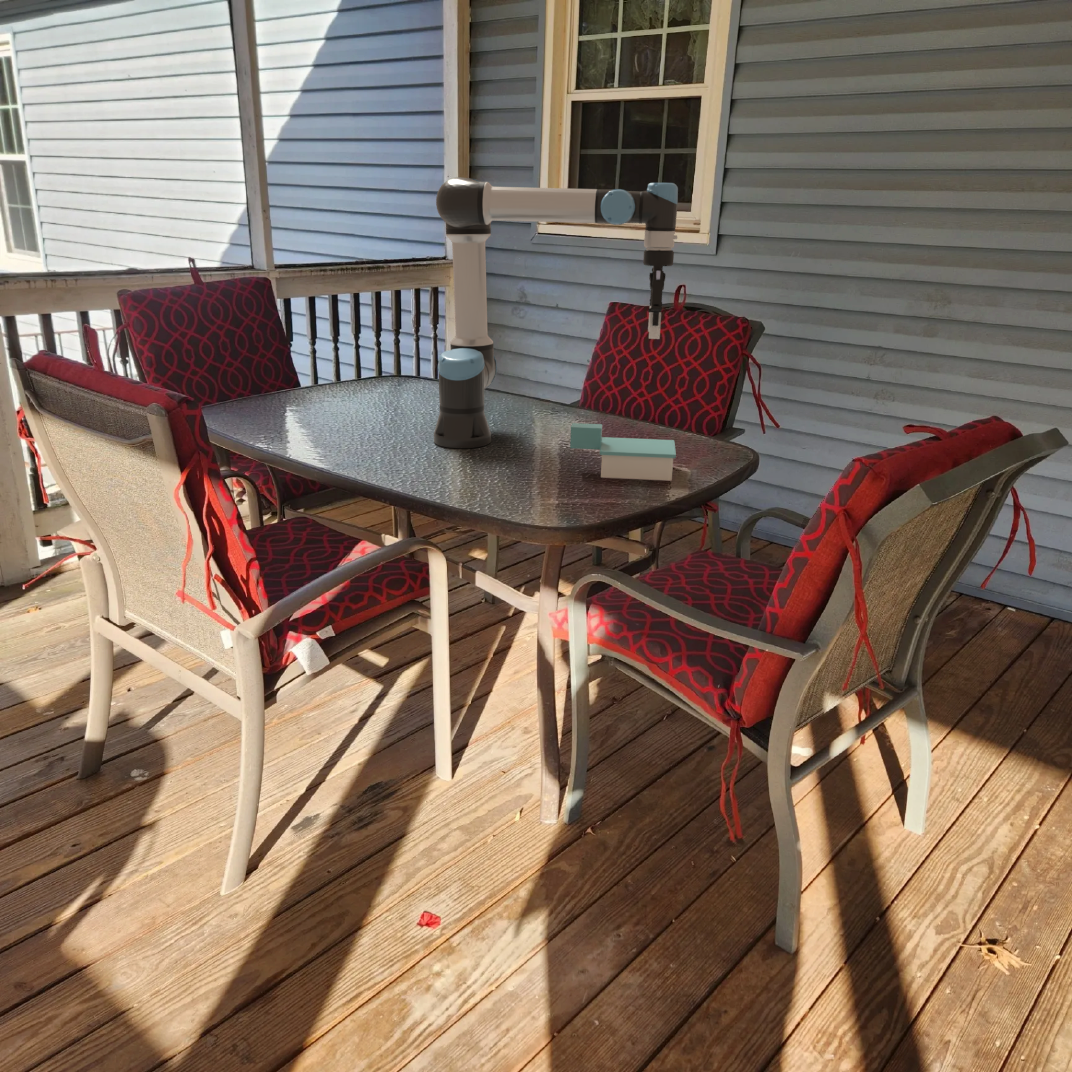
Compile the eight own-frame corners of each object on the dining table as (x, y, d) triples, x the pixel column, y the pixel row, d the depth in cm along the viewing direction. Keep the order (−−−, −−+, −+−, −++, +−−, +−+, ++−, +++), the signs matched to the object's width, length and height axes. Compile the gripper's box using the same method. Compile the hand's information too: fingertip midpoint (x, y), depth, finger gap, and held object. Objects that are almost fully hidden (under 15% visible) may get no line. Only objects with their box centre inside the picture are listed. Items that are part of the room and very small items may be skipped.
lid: (568, 453, 193) (569, 431, 191) (573, 439, 205) (573, 418, 203) (675, 458, 190) (677, 436, 189) (673, 443, 203) (675, 422, 201)
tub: (600, 479, 195) (601, 454, 193) (603, 465, 206) (604, 441, 204) (671, 483, 193) (673, 457, 191) (670, 468, 204) (671, 443, 202)
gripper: (676, 251, 203) (669, 342, 210) (672, 247, 226) (666, 329, 233) (644, 251, 203) (639, 341, 211) (643, 246, 226) (638, 328, 234)
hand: (653, 335), depth 222 cm, fingers open, 13 cm apart
